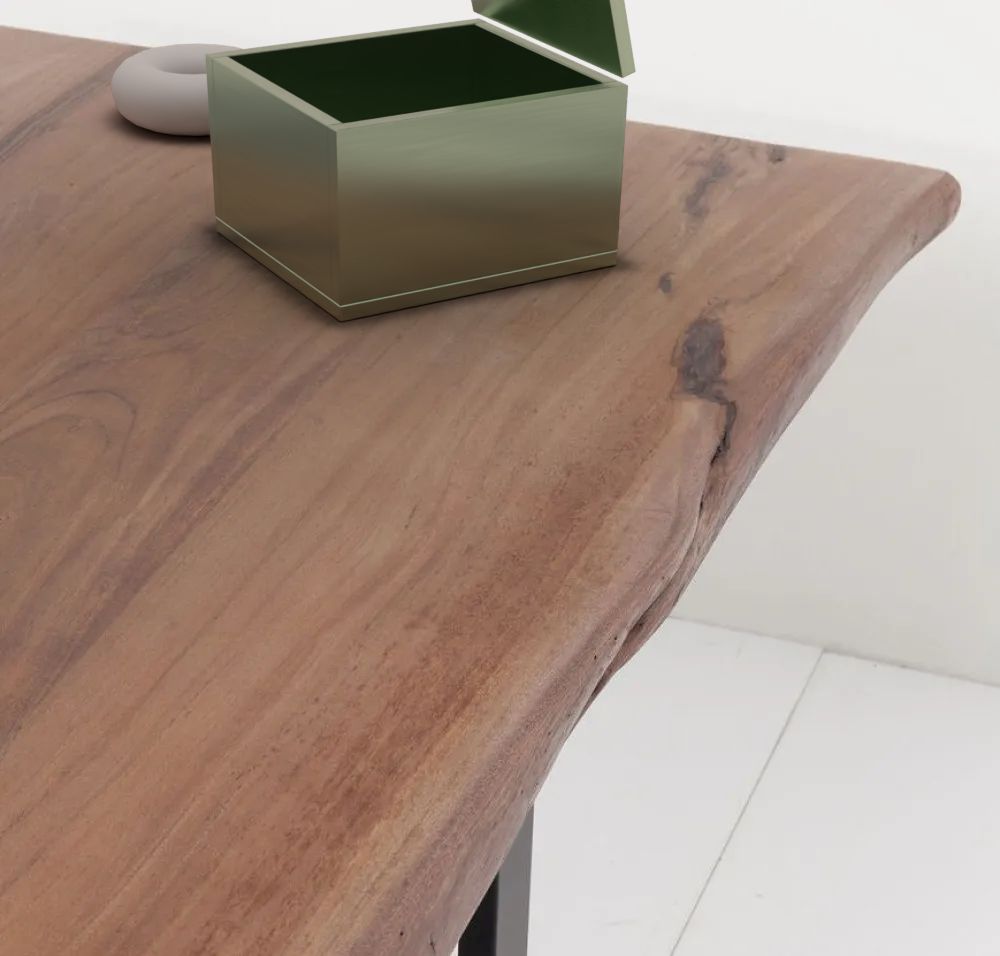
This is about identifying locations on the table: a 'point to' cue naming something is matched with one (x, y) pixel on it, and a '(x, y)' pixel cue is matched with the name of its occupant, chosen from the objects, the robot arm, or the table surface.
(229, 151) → the green metal box
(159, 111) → the donut
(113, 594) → the table surface
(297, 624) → the table surface
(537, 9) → the green box lid
